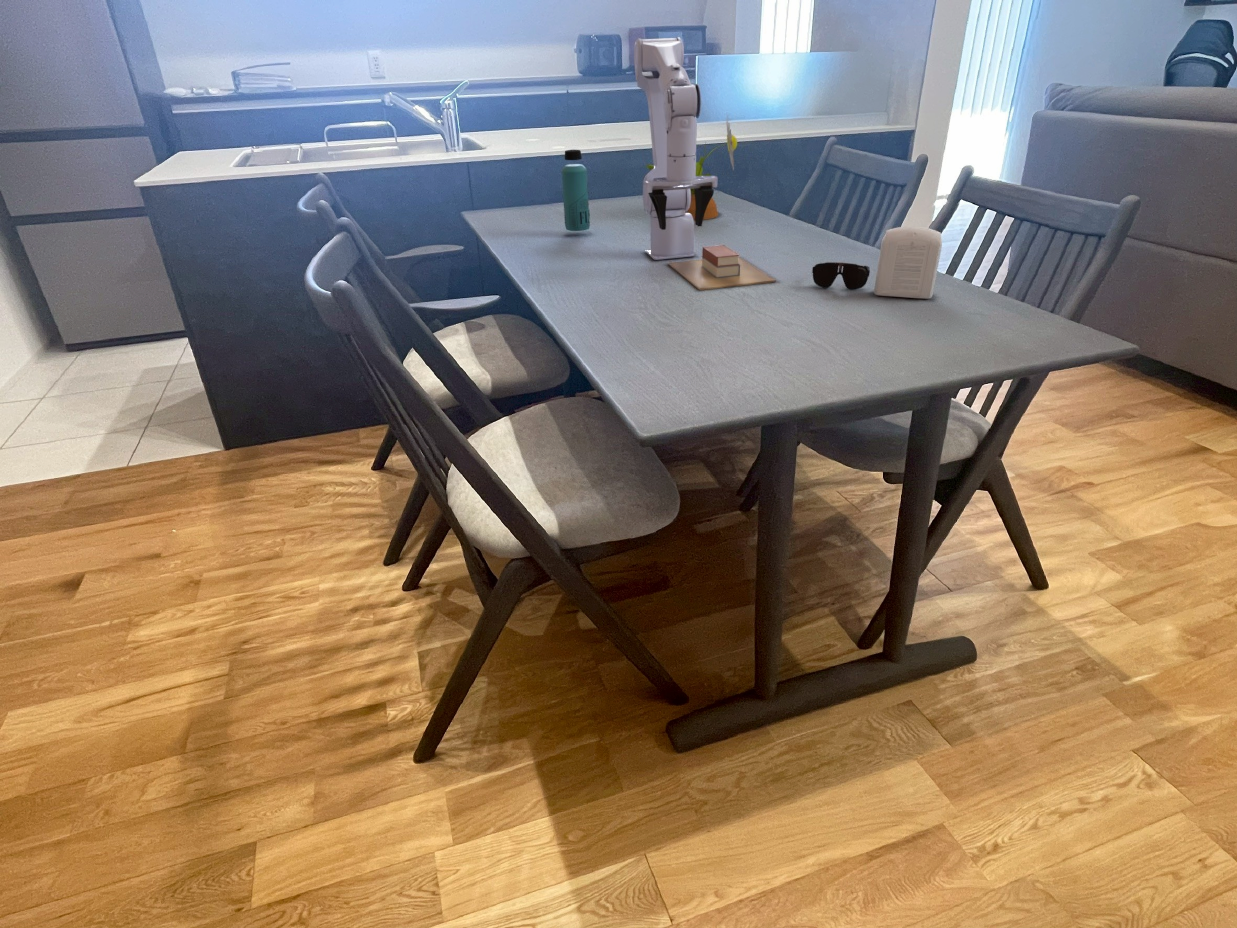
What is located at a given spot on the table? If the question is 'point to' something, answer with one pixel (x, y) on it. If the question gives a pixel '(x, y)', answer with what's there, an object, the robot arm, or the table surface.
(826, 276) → the sunglasses
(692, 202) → the decorative plant
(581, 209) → the beverage bottle
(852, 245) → the table surface
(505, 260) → the table surface
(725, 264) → the book stack
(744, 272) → the cork mat
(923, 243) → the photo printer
